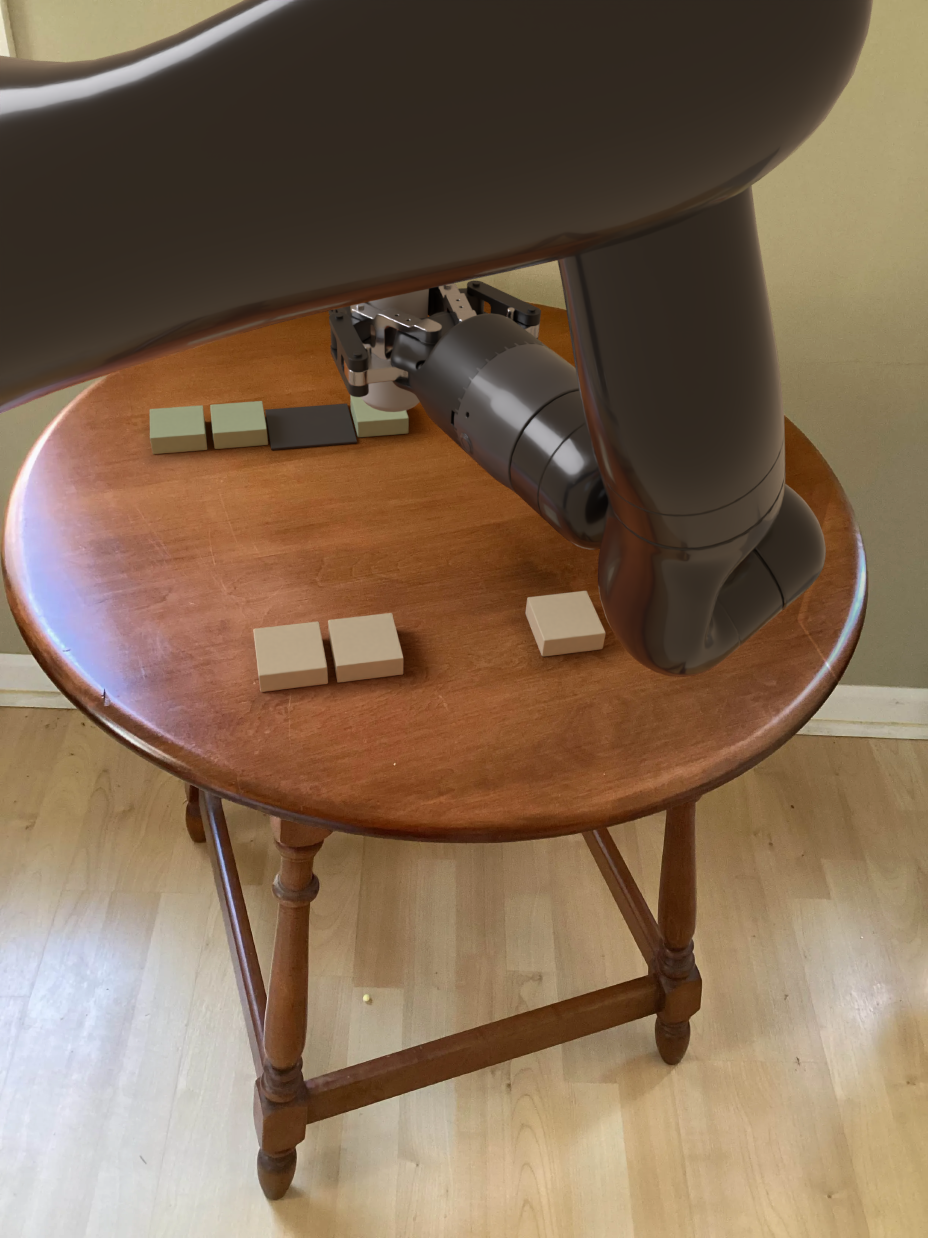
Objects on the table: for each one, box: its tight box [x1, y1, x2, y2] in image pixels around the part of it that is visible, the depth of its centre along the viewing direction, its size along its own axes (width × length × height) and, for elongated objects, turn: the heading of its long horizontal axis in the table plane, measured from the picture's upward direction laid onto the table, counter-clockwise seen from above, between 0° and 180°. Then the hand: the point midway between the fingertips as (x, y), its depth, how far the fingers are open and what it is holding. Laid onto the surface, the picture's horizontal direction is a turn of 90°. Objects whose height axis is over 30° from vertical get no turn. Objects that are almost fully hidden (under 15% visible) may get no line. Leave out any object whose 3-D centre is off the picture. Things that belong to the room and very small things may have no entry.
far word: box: [149, 394, 410, 455], centre depth 89 cm, size 21×6×2 cm, turn 103°
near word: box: [252, 590, 606, 693], centre depth 71 cm, size 23×4×2 cm, turn 103°
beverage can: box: [360, 289, 429, 412], centre depth 69 cm, size 5×5×12 cm
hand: (372, 286), depth 69 cm, fingers closed on beverage can, 5 cm apart
